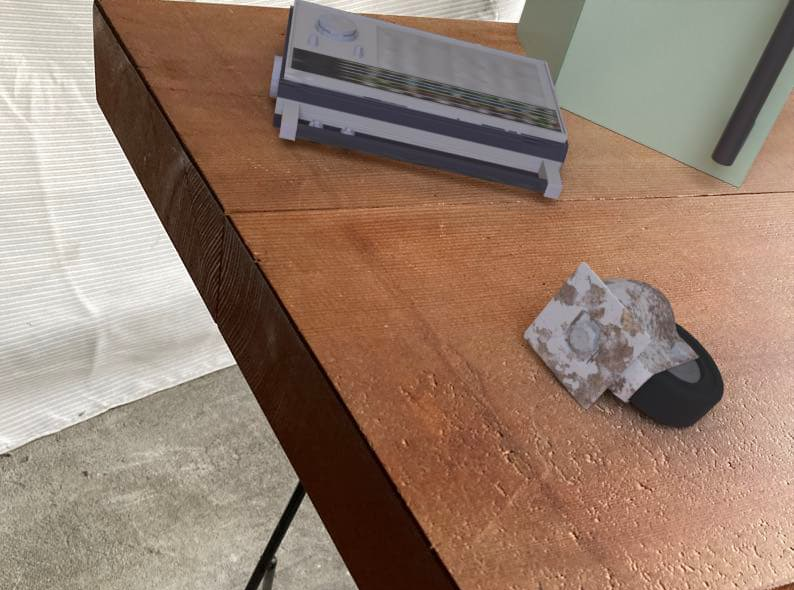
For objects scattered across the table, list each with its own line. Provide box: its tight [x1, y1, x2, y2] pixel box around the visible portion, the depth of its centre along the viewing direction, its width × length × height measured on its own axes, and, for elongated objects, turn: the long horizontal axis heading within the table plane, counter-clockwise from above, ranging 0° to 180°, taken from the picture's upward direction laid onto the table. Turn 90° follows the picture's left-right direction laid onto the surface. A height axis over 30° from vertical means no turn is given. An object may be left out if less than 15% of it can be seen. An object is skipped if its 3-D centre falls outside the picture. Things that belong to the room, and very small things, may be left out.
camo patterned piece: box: [523, 261, 725, 429], centre depth 64 cm, size 7×11×10 cm
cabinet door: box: [554, 0, 794, 189], centre depth 84 cm, size 8×20×22 cm, turn 63°
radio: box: [268, 0, 570, 200], centre depth 83 cm, size 24×5×20 cm
